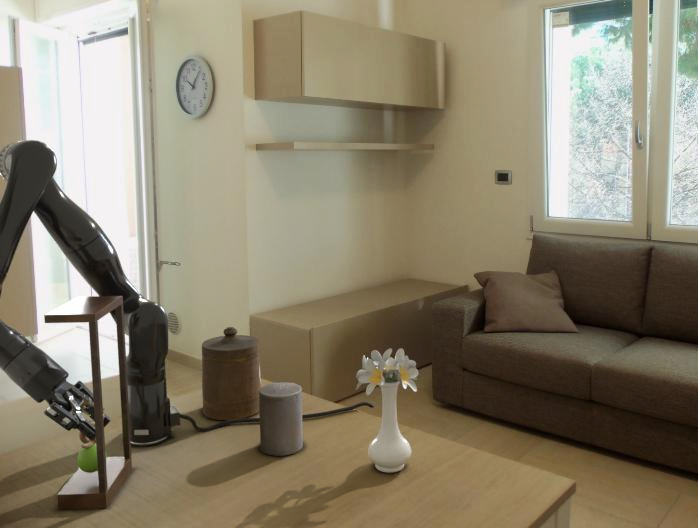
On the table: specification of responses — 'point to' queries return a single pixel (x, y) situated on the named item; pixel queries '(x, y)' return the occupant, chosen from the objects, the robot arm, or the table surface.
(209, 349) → the wooden container
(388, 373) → the flower vase
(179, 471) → the table surface
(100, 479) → the shelf unit
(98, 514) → the table surface
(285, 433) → the pillar candle
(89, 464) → the snail figurine
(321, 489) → the table surface
